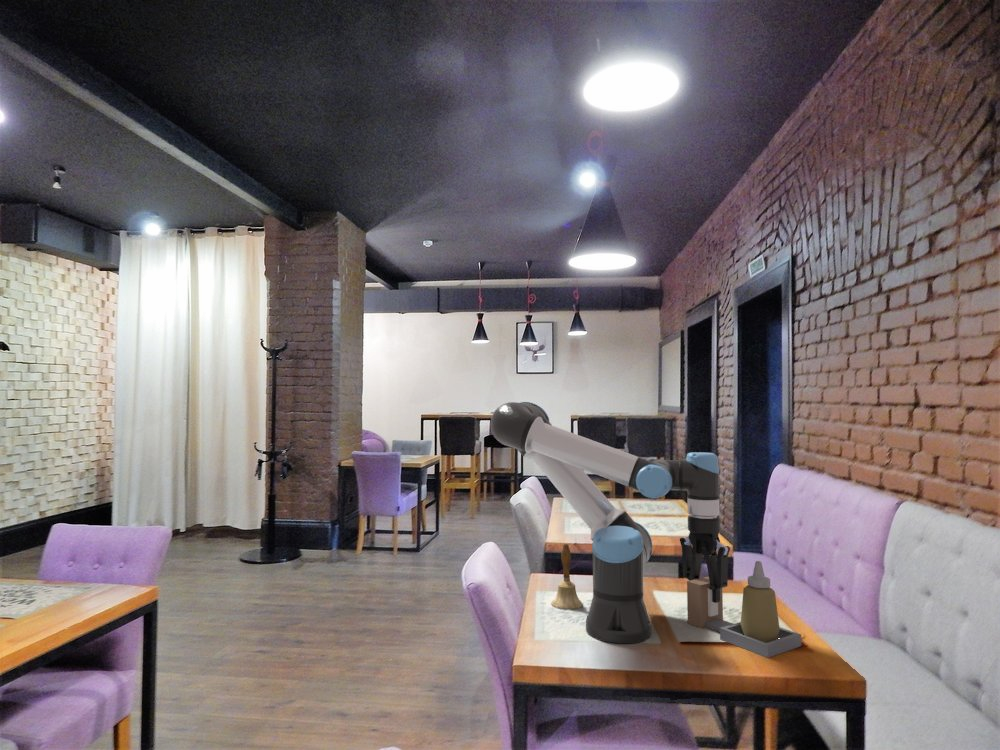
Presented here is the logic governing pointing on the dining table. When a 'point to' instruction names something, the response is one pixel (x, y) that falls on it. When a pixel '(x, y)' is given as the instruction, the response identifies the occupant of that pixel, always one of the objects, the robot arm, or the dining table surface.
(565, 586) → the hand bell
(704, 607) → the grey tray with block
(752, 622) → the squeeze bottle
